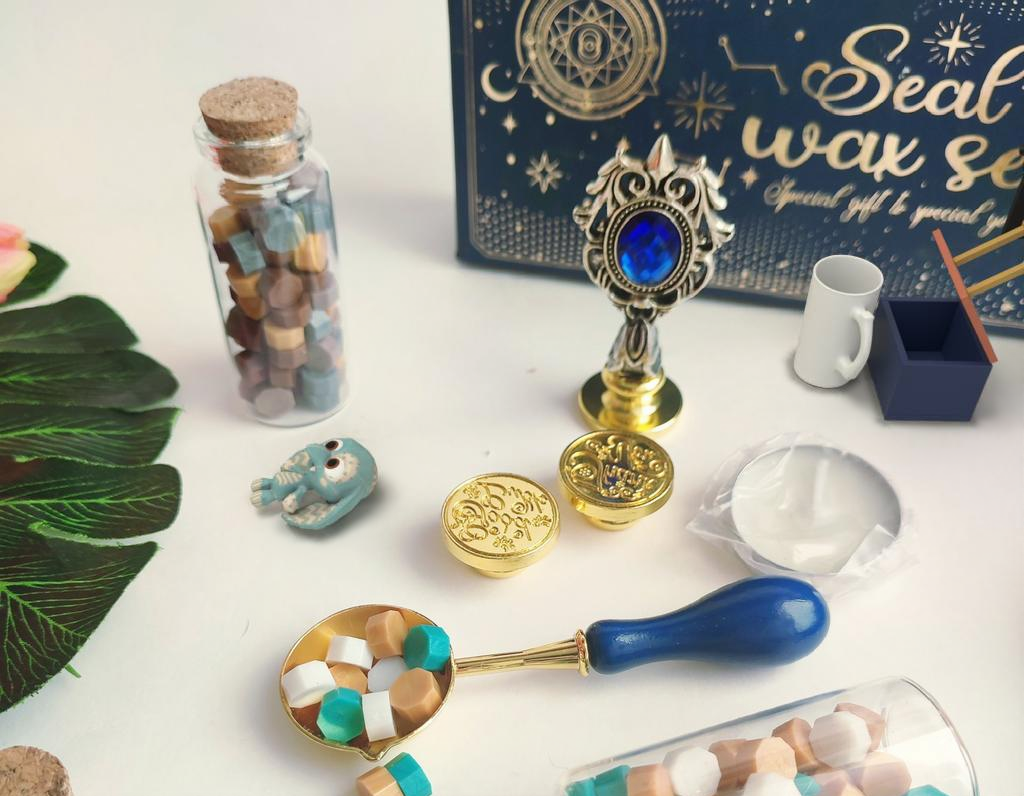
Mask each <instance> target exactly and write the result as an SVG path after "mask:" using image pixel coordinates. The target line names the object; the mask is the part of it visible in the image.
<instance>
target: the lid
mask: <svg viewBox="0 0 1024 796" xmlns="http://www.w3.org/2000/svg"><path fill="white" fill-rule="evenodd" d="M932 235H933V238H934V241H935V242H936V244H937V247H938V249H939V252H940V254H941V256H942V259H943V261H944V263H945V266H946V268H947V271H948V273H949V275H950V278H951V280H952V283H953V285H954V287H955V290H956V292H957V295H958V298H960V299H961V301H962V303H963V306H964V308H965V310H966V312H967V314H968V316H969V318H970V320H971V323H972V325H973V327H974V329H975V331H976V333H977V335H978V338H979V340H980V342H981V344H982V346H983V348H984V350H985V353H986V355H987V357H988V359H989V361H990V363H991V364H992V365H993V364H995V363H997V362H999V359H998V357H997V355H996V352H995V350H994V348H993V346H992V343H991V341H990V339H989V336H988V333H987V331H986V329H985V327H984V324H983V322H982V320H981V318H980V315H979V313H978V311H977V309H976V306H975V304H974V301H973V300H972V298H973V297H975V296H978V295H980V294H982V293H984V292H986V291H988V290H990V289H993V288H995V287H997V286H999V285H1002V284H1004V283H1006V282H1009V281H1011V280H1013V279H1015V278H1018V277H1019V276H1022V275H1024V261H1023V262H1021V263H1019V264H1017V265H1014V266H1013V267H1010V268H1008V269H1006V270H1004V271H1001V272H999V273H997V274H995V275H993V276H990V277H989V278H987V279H984V280H982V281H979V282H977V283H975V284H973V285H971V286H969V287H967V286H966V283H965V282H964V279H963V277H962V275H961V273H960V271H959V269H958V267H960V266H962V265H964V264H966V263H969V262H970V261H972V260H975V259H977V258H980V257H982V256H983V255H986V254H987V253H990V252H992V251H994V250H996V249H998V248H1000V247H1003V246H1005V245H1007V244H1010V243H1011V242H1013V241H1016V240H1019V239H1018V238H1020V237H1022V236H1024V221H1023V223H1022V226H1020V227H1018V228H1016V229H1014V230H1012V231H1009V232H1007V233H1005V234H1003V235H1001V234H1000V235H999V236H997V237H995V238H993V239H991V240H988V241H986V242H984V243H982V244H980V245H978V246H976V247H973V248H971V249H969V250H967V251H965V252H963V253H960V254H959V255H956V256H954V257H953V255H952V253H951V251H950V249H949V247H948V245H947V243H946V240H945V238H944V235H943V234H942V232H941V229H940V228H937V229H936V230H933V231H932Z"/></svg>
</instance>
